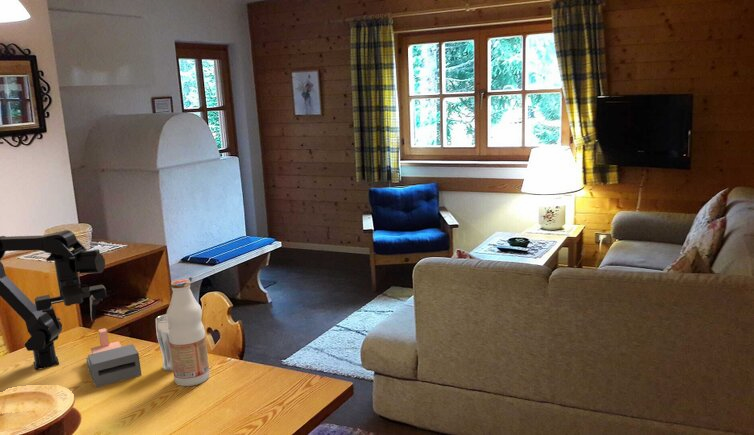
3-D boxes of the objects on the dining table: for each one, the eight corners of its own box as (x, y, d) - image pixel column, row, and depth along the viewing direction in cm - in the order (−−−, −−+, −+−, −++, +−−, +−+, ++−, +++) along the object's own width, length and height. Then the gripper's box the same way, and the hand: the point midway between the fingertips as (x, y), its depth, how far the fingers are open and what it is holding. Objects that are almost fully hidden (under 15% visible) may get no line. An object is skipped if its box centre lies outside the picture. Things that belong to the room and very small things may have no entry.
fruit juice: (181, 390, 164) (168, 289, 158) (169, 378, 171) (157, 281, 166) (215, 379, 169) (204, 281, 164) (202, 368, 177) (191, 274, 171)
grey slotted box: (87, 367, 182) (84, 346, 181) (130, 356, 188) (127, 335, 187) (95, 387, 169) (92, 364, 167) (141, 375, 175) (138, 352, 173)
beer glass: (190, 361, 182) (184, 312, 179) (180, 371, 176) (174, 321, 173) (167, 361, 183) (161, 313, 180) (157, 371, 176) (150, 322, 173)
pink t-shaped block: (90, 348, 188) (87, 332, 187) (118, 341, 192) (115, 325, 191) (98, 366, 174) (95, 349, 173) (128, 359, 178) (126, 342, 177)
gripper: (33, 287, 169) (42, 341, 172) (106, 273, 178) (113, 325, 181) (30, 278, 178) (39, 329, 181) (100, 266, 188) (107, 314, 191)
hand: (75, 324), depth 183 cm, fingers open, 9 cm apart
